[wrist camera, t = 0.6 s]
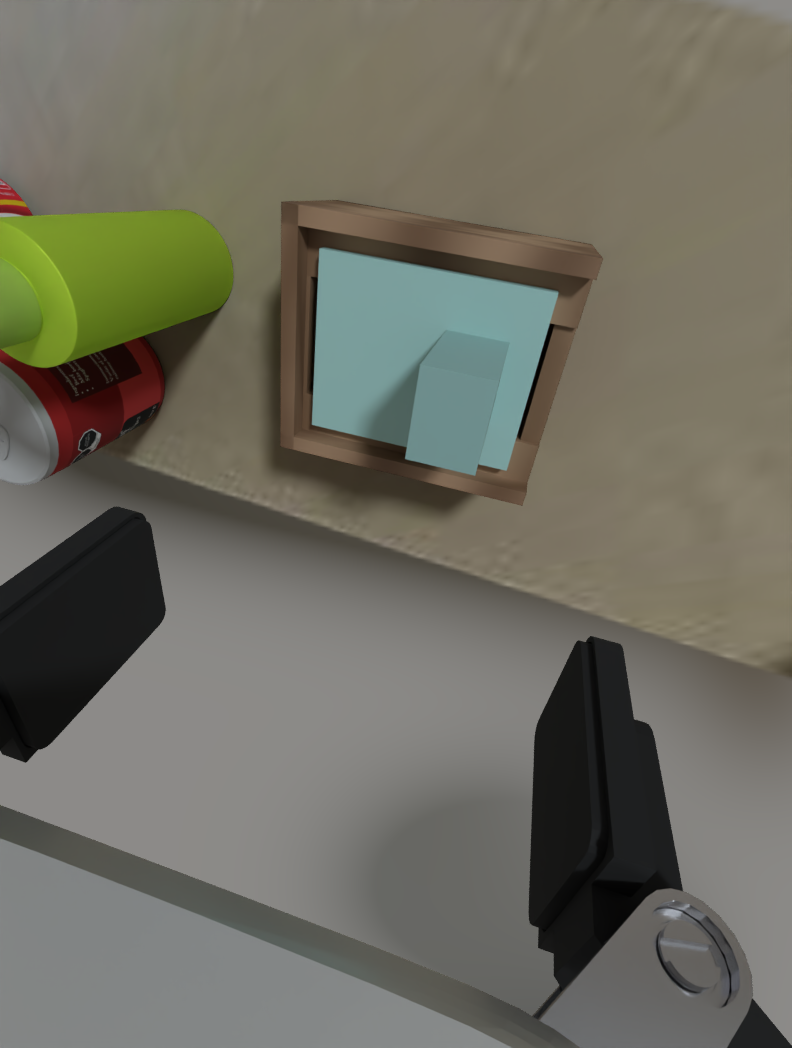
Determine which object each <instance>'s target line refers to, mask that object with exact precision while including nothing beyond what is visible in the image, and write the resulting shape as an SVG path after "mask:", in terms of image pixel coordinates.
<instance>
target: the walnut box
mask: <svg viewBox="0 0 792 1048" xmlns="http://www.w3.org/2000/svg"><path fill="white" fill-rule="evenodd" d="M323 247H329V248H334V249H339V250H345V251H350V252H356V253H361V254H366V255H372V256H377V257H382V258H388V259H393V260H398V261H404V262H409V263H414V264H420V265H425V266H430V267H436V268H441V269H446V270H452V271H457V272H462V273H468V274H473V275H479V276H484V277H489V278H495V279H500V280H505V281H511V282H516V283H521V284H527V285H532V286H537V287H543V288H548V289H553V290H558V297H557V300H556V304H555V307H554V310H553V314H552V317H551V321H550V324H549V328H548V331H547V334H546V338H545V341H544V345H543V348H542V351H541V355H540V358H539V362H538V365H537V369H536V372H535V375H534V379H533V382H532V386H531V389H530V392H529V396H528V399H527V403H526V406H525V410H524V413H523V416H522V420H521V423H520V427H519V430H518V434H517V437H516V440H515V444H514V447H513V451H512V454H511V457H510V461H509V464H508V468H507V471H505V470H501V469H497V468H492V467H488V466H484V465H480V464H478V467H477V471H476V474H475V476H474V475H470V474H466V473H461V472H457V471H453V470H449V469H445V468H441V467H436V466H432V465H428V464H424V463H420V462H416V461H411V460H407V459H405V456H406V450H407V447H404V446H399V445H395V444H391V443H387V442H383V441H378V440H374V439H370V438H366V437H361V436H357V435H353V434H349V433H344V432H340V431H336V430H332V429H328V428H323V427H319V426H315V425H312V411H313V388H314V364H315V340H316V316H317V292H318V268H319V248H323ZM602 261H603V258H602V256H601V255H600V254H599V253H598V252H597V250H596V249H595V248H594V247H593V245H592V244H586V243H581V242H575V241H569V240H563V239H558V238H552V237H546V236H540V235H535V234H529V233H523V232H517V231H512V230H506V229H500V228H494V227H489V226H483V225H477V224H471V223H466V222H460V221H454V220H448V219H442V218H437V217H431V216H425V215H419V214H414V213H408V212H402V211H396V210H391V209H385V208H379V207H373V206H368V205H362V204H356V203H350V202H345V201H339V200H326V201H289V202H281V431H280V447H284V448H289V449H293V450H297V451H301V452H305V453H309V454H313V455H317V456H321V457H325V458H329V459H333V460H338V461H342V462H346V463H350V464H354V465H358V466H362V467H366V468H370V469H374V470H378V471H383V472H387V473H391V474H395V475H399V476H403V477H407V478H411V479H415V480H419V481H423V482H427V483H432V484H436V485H440V486H444V487H448V488H452V489H456V490H460V491H464V492H468V493H472V494H476V495H481V496H485V497H489V498H493V499H497V500H501V501H505V502H509V503H513V504H517V505H521V506H522V505H523V502H524V499H525V496H526V493H527V482H528V479H529V476H530V473H531V470H532V467H533V464H534V460H535V457H536V454H537V451H538V448H539V443H540V440H541V437H542V434H543V431H544V428H545V425H546V421H547V418H548V415H549V412H550V409H551V406H552V403H553V400H554V397H555V394H556V390H557V387H558V384H559V381H560V378H561V375H562V372H563V369H564V366H565V363H566V360H567V356H568V353H569V350H570V347H571V344H572V341H573V338H574V335H575V332H576V329H577V328H578V325H579V322H580V318H581V315H582V312H583V309H584V306H585V303H586V300H587V297H588V294H589V291H590V288H591V284H592V281H593V279H594V280H596V279H597V276H598V273H599V270H600V267H601V264H602Z"/></svg>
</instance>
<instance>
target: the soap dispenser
mask: <svg viewBox="0 0 792 1048" xmlns="http://www.w3.org/2000/svg"><path fill="white" fill-rule="evenodd" d="M232 284H233V266H232V261H231V257H230V254H229V251H228V248H227V246H226V244H225V242H224V240H223V239H222V237H221V236H220V234H219V233H218V231H217V230H216V229H215V228H214V227H213V226H212V225H211V224H210V223H209V222H208V221H207V220H205V219H204V218H203V217H201V216H199V215H198V214H196V213H193V212H190V211H186V210H160V211H136V212H112V213H87V214H63V215H39V216H14V217H0V349H1V350H3V351H4V352H5V353H7V354H8V355H10V356H11V357H13V358H15V359H16V360H18V361H20V362H23V363H25V364H28V365H31V366H35V367H41V368H48V367H54V366H58V365H61V364H63V363H66V362H69V361H72V360H75V359H78V358H81V357H84V356H87V355H89V354H92V353H95V352H98V351H101V350H104V349H107V348H110V347H112V346H115V345H118V344H121V343H124V342H127V341H130V340H133V339H136V338H138V337H141V336H144V335H147V334H150V333H153V332H156V331H159V330H161V329H164V328H167V327H170V326H173V325H176V324H179V323H182V322H185V321H187V320H190V319H193V318H196V317H199V316H202V315H205V314H208V313H210V312H213V311H215V310H217V309H219V308H220V307H221V306H222V305H223V304H224V303H225V302H226V300H227V299H228V297H229V295H230V292H231V289H232Z"/></svg>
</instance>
